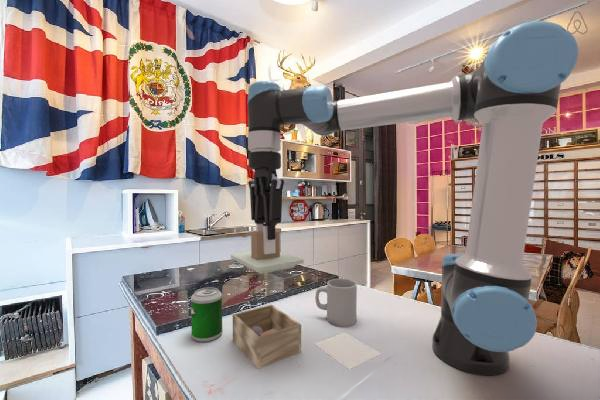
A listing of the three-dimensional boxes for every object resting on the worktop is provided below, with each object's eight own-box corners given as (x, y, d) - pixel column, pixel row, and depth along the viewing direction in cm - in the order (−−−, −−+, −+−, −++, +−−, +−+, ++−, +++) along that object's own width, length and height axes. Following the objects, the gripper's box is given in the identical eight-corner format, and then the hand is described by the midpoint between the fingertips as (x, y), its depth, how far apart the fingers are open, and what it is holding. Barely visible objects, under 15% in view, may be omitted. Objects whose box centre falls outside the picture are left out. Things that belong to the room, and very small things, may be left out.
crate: (301, 354, 67) (301, 324, 67) (257, 371, 61) (257, 338, 60) (271, 330, 79) (271, 304, 78) (232, 342, 72) (232, 314, 72)
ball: (266, 342, 71) (266, 327, 71) (252, 346, 69) (252, 332, 69) (259, 336, 74) (259, 322, 74) (246, 340, 72) (246, 326, 72)
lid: (303, 267, 66) (303, 233, 66) (257, 276, 59) (256, 238, 59) (272, 255, 78) (272, 226, 78) (231, 262, 72) (230, 230, 71)
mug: (357, 315, 88) (357, 279, 87) (355, 328, 79) (356, 288, 79) (317, 311, 90) (317, 276, 90) (312, 323, 82) (312, 285, 82)
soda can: (227, 332, 77) (227, 287, 77) (212, 347, 70) (211, 298, 70) (203, 328, 79) (202, 285, 79) (185, 342, 72) (184, 295, 72)
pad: (381, 356, 66) (381, 353, 66) (349, 372, 60) (349, 369, 60) (344, 334, 76) (344, 332, 76) (314, 346, 70) (314, 343, 70)
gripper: (297, 149, 63) (298, 256, 64) (263, 156, 77) (264, 244, 77) (266, 146, 59) (267, 261, 60) (236, 154, 72) (237, 248, 73)
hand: (265, 251), depth 69 cm, fingers closed on lid, 3 cm apart
